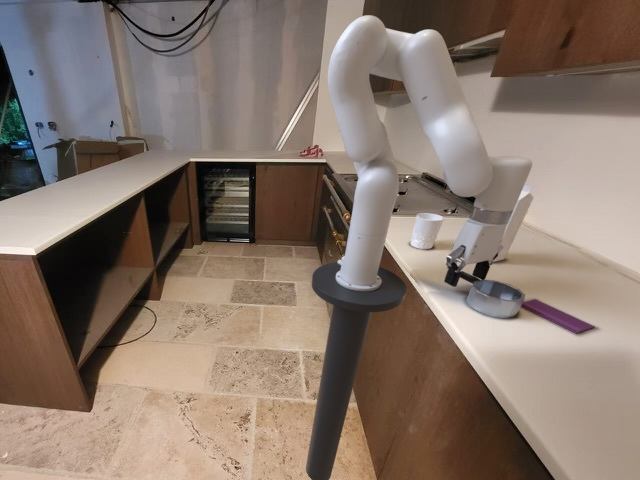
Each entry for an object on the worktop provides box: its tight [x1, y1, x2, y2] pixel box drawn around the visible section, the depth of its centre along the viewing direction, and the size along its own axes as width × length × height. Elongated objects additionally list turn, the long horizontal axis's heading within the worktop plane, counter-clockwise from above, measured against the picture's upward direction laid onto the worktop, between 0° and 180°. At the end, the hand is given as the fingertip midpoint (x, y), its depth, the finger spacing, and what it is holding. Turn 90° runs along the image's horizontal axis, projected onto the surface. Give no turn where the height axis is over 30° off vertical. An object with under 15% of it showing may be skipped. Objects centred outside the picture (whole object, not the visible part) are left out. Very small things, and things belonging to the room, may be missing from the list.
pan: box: [459, 270, 526, 319], centre depth 78 cm, size 15×10×5 cm, turn 20°
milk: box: [493, 184, 534, 263], centre depth 95 cm, size 6×6×22 cm
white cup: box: [410, 212, 445, 250], centre depth 106 cm, size 8×8×10 cm
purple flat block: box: [520, 298, 595, 334], centre depth 73 cm, size 12×6×1 cm, turn 20°
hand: (464, 280), depth 83 cm, fingers open, 9 cm apart
